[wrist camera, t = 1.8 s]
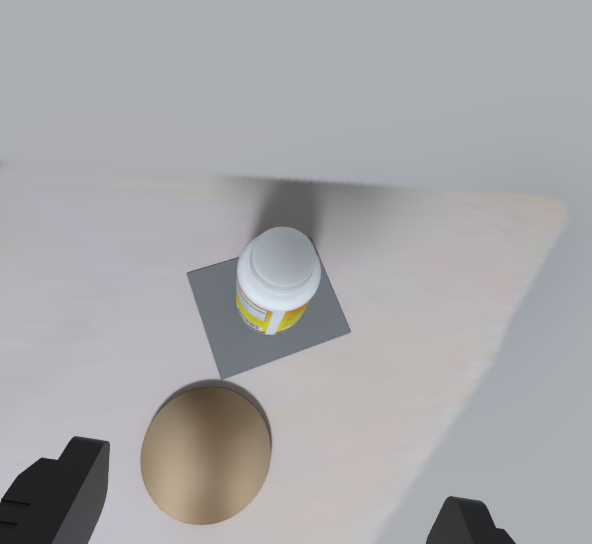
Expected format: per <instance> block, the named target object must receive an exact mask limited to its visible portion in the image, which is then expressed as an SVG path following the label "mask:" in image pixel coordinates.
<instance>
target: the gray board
mask: <svg viewBox="0 0 592 544" xmlns="http://www.w3.org/2000/svg"><path fill="white" fill-rule="evenodd" d="M307 238H308V239H309V240H310V241H311V243H312V245H313V247H314V250H315V252H316V254H317V256H318V253H317V251H316V249H315V246H314V244H313V241H312V239H311V237H307ZM318 258H319V256H318ZM238 260H239V258H237V259H234V260H230V261H227V262H224V263H220V264H217V265H214V266H210V267H207V268H203V269H200V270H197V271H193V272H190V273H187V276H188V279H189V282H190V285H191V288H192V291H193V294H194V297H195V300H196V304H197V307H198V310H199V313H200V316H201V319H202V322H203V325H204V328H205V331H206V334H207V337H208V340H209V343H210V346H211V349H212V352H213V356H214V359H215V362H216V365H217V368H218V371H219V374H220V377H221V380H223V379H225V378H228V377H231V376H233V375H236V374H239V373H242V372H244V371H247V370H250V369H253V368H255V367H258V366H261V365H263V364H266V363H269V362H272V361H274V360H277V359H280V358H282V357H285V356H288V355H291V354H293V353H296V352H299V351H301V350H304V349H307V348H310V347H312V346H315V345H318V344H321V343H323V342H326V341H329V340H331V339H334V338H337V337H340V336H342V335H345V334H348V333H350V332H351V331H350V329H349V327H348V324H347V322H346V320H345V317H344V315H343V312H342V310H341V308H340V305H339V303H338V301H337V298H336V296H335V294H334V291H333V289H332V286H331V284H330V282H329V279H328V277H327V275H326V272H325V270H324V267H323V265H322V263H321V260H320V258H319V261H320V266H321V279H320V283H319V286H318V288H317V290H316V292H315V294H314V296H313V297H312V299H311V301H310V302H309V304H308V306H307V307H306V309H305V311H304V312H303V314H302V316H301V317H300V319H299V320H298V322H297V323H296V324H295V325H294V326H293V327H292V328H290V329H289V330H287V331H285V332H283V333H279V334H274V335H267V334H262V333H258V332H256V331H254V330H252V329H251V328H249V327H248V326H247V325H246V324H245V323H244V322H243V321H242V319H241V318H240V316H239V314H238V311H237V308H236V279H237V264H238Z"/></svg>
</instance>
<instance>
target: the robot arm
mask: <svg viewBox="0 0 592 544" xmlns="http://www.w3.org/2000/svg"><path fill="white" fill-rule="evenodd" d="M109 452H110V443H109V441H104V440H97V439H91V438H85V437H78V436H75V437H73V438H72V439H71V440H70V442H69V443H68V445H67V446H66V448H65V449H64V451H63V453H62V454H61V456H60V457H59V459H58V460H54V459H47V458H40V459H39V460H38V461H36V462H35V463H34V464H32V465H31V466H30V467H29V468H27V469H26V470H25V471H23V472H22V473H21V474H19V475H18V476H17V478H16V479H15V480H14V482H13V483H12V485H11V486H10V488H9V489H8V490H7V492H6V493H5V495H4V496H3V498H2V499H1V502H0V544H88V542H89V539H90V537H91V535H92V533H93V531H94V528H95V526H96V524H97V522H98V519H99V517H100V514H101V512H102V509H103V506H104V502H105V499H106V494H107V488H108V471H109ZM426 544H516V543H515V542H514V541H513V540H512V538H511V537H510V536H509V535H508V534H507V532H506V531H505V530H504V529H499V528H496V527H495V524H494V522H493V520H492V518H491V515H490V513H489V511H488V509H487V507H486V505H485V504H484V503H483V502H481V501H478V500H471V499H465V498H459V497H453V496H450V497H448V498H447V499H446V500H445V502H444V504H443V507H442V508H441V510H440V513H439V514H438V517H437V519H436V521H435V523H434V525H433V527H432V529H431V531H430V533H429V535H428V537H427V541H426Z"/></svg>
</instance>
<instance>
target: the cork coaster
mask: <svg viewBox="0 0 592 544" xmlns="http://www.w3.org/2000/svg"><path fill="white" fill-rule="evenodd" d="M270 457H271V444H270V437H269V433H268V430H267V427H266V424H265V422H264V420H263V418H262V416H261V415H260V413H259V412H258V410H257V409H256V408H255V407H254V406H253V405H252V404H251V403H250V402H249V401H248V400H247V399H245V398H244V397H243V396H241V395H239V394H237V393H236V392H233V391H230V390H227V389H223V388H217V387H203V388H197V389H193V390H190V391H187V392H185V393H183V394H180V395H179V396H177V397H175V398H174V399H172V400H171V401H170V402H169V403H167V404H166V405H165V406H164V407H163V408H162V409H161V410H160V411H159V412H158V414H157V415H156V416H155V417H154V419H153V421H152V422H151V424H150V426H149V428H148V430H147V432H146V435H145V438H144V441H143V445H142V450H141V472H142V477H143V481H144V484H145V487H146V489H147V491H148V493H149V495H150V497H151V498H152V500H153V501H154V502H155V504H156V505H157V506H158V507H159V508H160V509H161V510H162V511H164V512H165V513H166V514H167V515H169V516H171V517H172V518H174V519H176V520H179V521H181V522H184V523H188V524H194V525H208V524H214V523H218V522H221V521H224V520H227V519H229V518H231V517H232V516H234V515H236V514H237V513H239V512H240V511H242V510H243V509H244V508H245V507H246V506H247V505H248V504H250V502H251V501H252V500H253V499H254V498H255V496H256V495H257V494H258V492H259V490H260V489H261V487H262V485H263V483H264V481H265V478H266V476H267V473H268V469H269V465H270Z"/></svg>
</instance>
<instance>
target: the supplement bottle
mask: <svg viewBox="0 0 592 544" xmlns="http://www.w3.org/2000/svg"><path fill="white" fill-rule="evenodd" d="M320 279H321V266H320V261H319V258H318V256H317V254H316V252H315V250H314V247H313V245H312V243H311V241H310V240H309V239H308V238H307V236H305V235H304V234H303V233H302V232H300V231H298V230H296V229H294V228H290V227H274V228H271V229H269V230H267V231H265V232H263V233H262V234H261V235H259V236H257V237H255V238H254V239H252V240H251V241H250V242H249V243H248V244H247V245H246V246H245V248H244V249H243V251H242V252H241V255H240V257H239V260H238V264H237V279H236V308H237V311H238V314H239V316H240V318H241V319H242V321H243V322H244V323H245V324H246V325H247V326H248V327H249V328H251V329H252V330H254V331H256V332H258V333H262V334H267V335H274V334H279V333H283V332H285V331H287V330H289V329H290V328H292V327H293V326H294V325H295V324H296V323H297V322H298V320H299V319H300V317H301V316H302V314H303V312H304V311H305V309H306V307H307V306H308V304H309V302H310V301H311V299H312V297H313V296H314V294H315V292H316V290H317V288H318V286H319V283H320Z"/></svg>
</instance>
